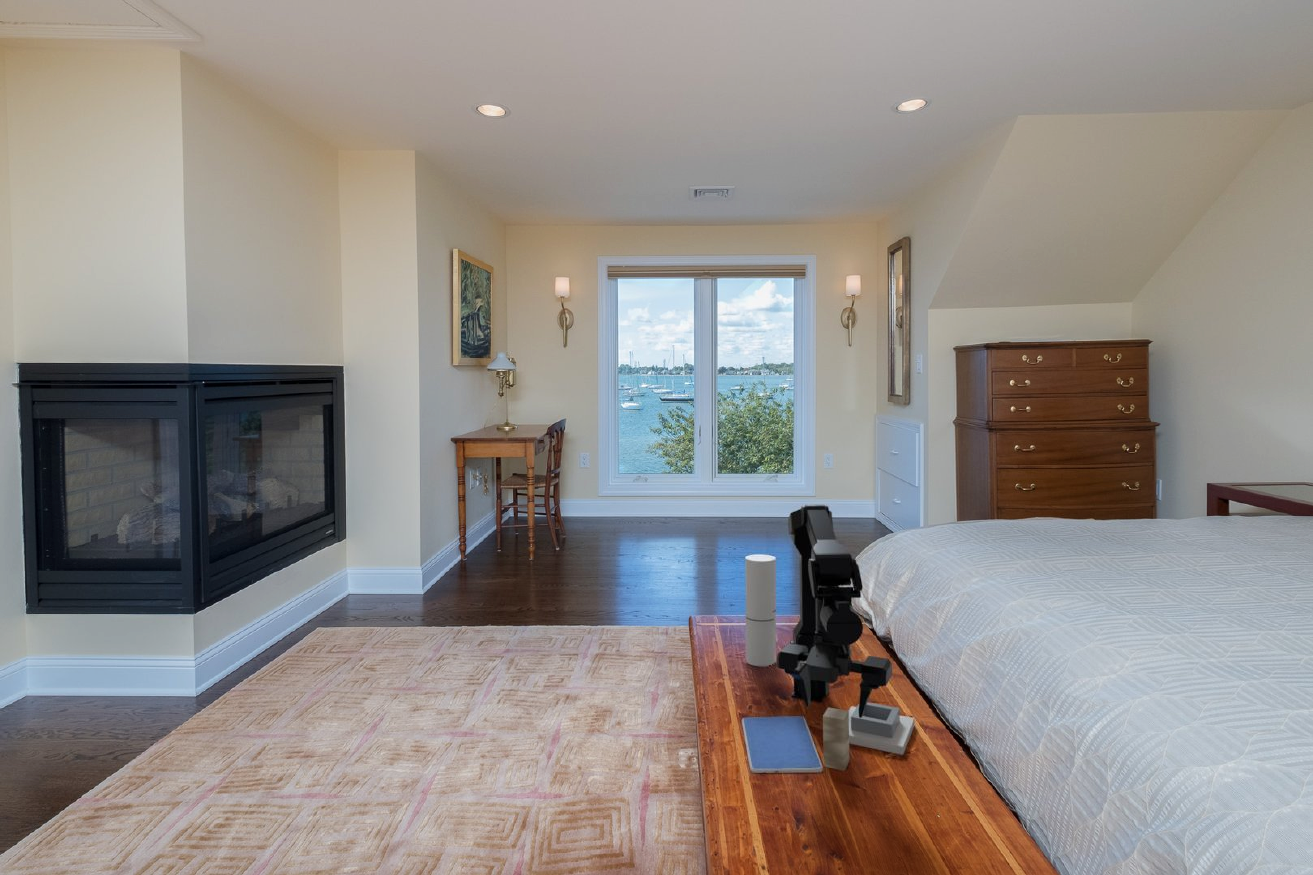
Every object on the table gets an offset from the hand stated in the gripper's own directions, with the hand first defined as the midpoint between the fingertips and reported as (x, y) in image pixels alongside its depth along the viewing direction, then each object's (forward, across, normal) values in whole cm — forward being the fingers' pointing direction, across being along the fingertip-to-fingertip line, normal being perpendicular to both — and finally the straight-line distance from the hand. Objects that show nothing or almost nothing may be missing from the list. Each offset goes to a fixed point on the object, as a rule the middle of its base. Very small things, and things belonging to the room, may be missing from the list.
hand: (834, 711), depth 124 cm
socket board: (+9, +4, +14) cm, 17 cm away
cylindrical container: (+10, -28, +38) cm, 48 cm away
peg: (+9, 0, 0) cm, 9 cm away
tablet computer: (+10, -11, +2) cm, 15 cm away
